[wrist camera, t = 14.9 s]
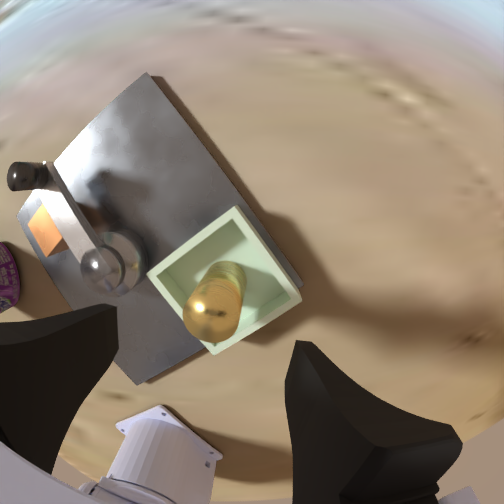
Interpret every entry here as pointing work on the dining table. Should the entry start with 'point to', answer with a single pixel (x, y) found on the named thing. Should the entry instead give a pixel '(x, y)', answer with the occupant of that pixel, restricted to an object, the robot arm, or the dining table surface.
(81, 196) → the base plate
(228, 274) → the brass pin
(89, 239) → the crank
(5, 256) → the beverage can
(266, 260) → the tray
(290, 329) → the dining table surface
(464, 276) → the dining table surface
